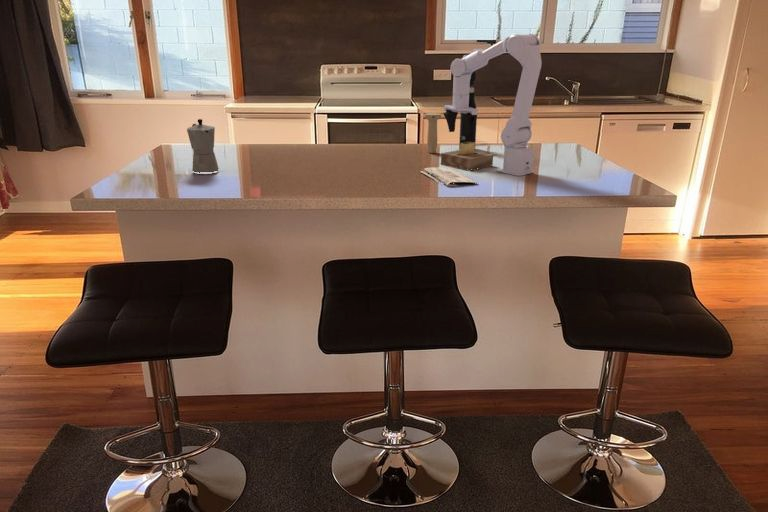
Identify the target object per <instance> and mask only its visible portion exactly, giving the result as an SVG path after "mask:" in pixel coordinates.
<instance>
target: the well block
mask: <svg viewBox="0 0 768 512" xmlns="http://www.w3.org/2000/svg"><path fill="white" fill-rule="evenodd" d="M493 163H494V154H492V153H486V152H482V151H476V150H475V151H474V155H469V156H462V155H460V149H456V150H452V151H446V152H441V153H440V165H442V166H447V167H450V168H455V167H457V168H456V169H460V168H462V169H461V170H464V169H468V170H471V169H476V170H478V169H477V168H480V169H483V168H482V167H485V168H488V167H487V166H490V167H492V166H491V165H493ZM468 170H467V171H468ZM471 171H472V170H471Z"/></svg>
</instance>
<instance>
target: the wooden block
mask: <svg viewBox="0 0 768 512" xmlns="http://www.w3.org/2000/svg"><path fill="white" fill-rule="evenodd" d="M459 150H460V155H462V156H469V155H474V151H476V142H464V143H460V149H459Z"/></svg>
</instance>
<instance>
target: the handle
mask: <svg viewBox="0 0 768 512" xmlns="http://www.w3.org/2000/svg"><path fill="white" fill-rule="evenodd" d="M424 118H425V119H426V120H427V123H428V126H427V135H426V136H427V137H426V138H427V139H426V141H427V142H426V143H427V144H426V146H427V153H428V154H436V152H437V149H438V148H437V146H438V120H440V119H441V118H442V113H439V112H432V113H431V112H429V113H424Z"/></svg>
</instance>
